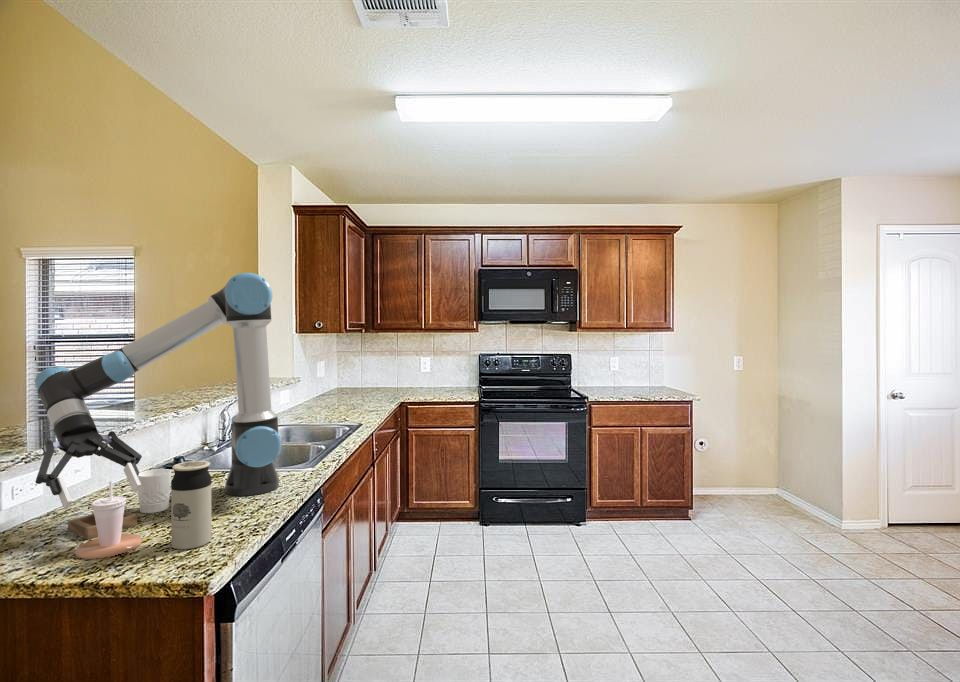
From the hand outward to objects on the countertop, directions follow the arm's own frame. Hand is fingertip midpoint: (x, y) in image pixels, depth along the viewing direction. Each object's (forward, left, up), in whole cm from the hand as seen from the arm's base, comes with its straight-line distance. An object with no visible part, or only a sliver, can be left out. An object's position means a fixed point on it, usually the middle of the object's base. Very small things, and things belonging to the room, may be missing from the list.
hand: (104, 496), depth 115 cm
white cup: (+1, -26, -12) cm, 28 cm away
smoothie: (-1, 0, -11) cm, 11 cm away
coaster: (-1, 0, -11) cm, 11 cm away
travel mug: (-18, 0, -12) cm, 22 cm away
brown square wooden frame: (+7, -13, -11) cm, 18 cm away
